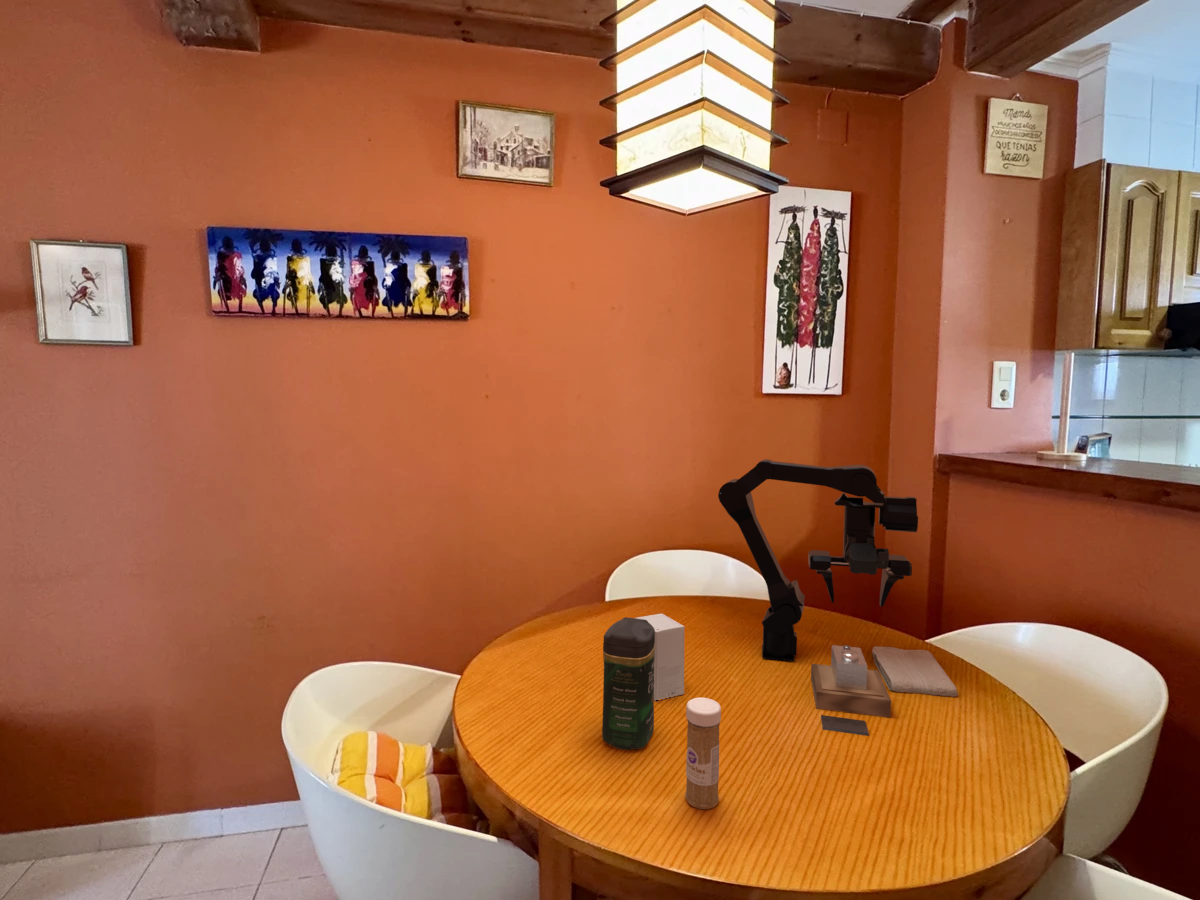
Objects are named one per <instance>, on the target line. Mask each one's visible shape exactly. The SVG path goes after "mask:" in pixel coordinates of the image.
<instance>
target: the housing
mask: <svg viewBox="0 0 1200 900" xmlns="http://www.w3.org/2000/svg"><path fill="white" fill-rule="evenodd" d="M830 655H831V659H830V660H831V661H830V662H831V663H830V666H831V670H832V673H833V677H834V681H835V685H836V687H840V688H849V689H858V690H866V686H867V669H868V665H867V664H868V663H867V662H866V659H865V657H864V654H863V651H862V649H861V647H857V646H856V647H855V646H850V645H847V644H844V645H836V644H832V645H831V654H830Z"/></svg>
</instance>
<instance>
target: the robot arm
mask: <svg viewBox="0 0 1200 900" xmlns="http://www.w3.org/2000/svg"><path fill="white" fill-rule="evenodd" d="M767 480H771V481H772V480H773V481H781V482H782V481H783V482H790V483H797V484H805V485H806V484H807V485H812V486H813V485H814V486H815V485H816V486H821V487H827V488H831V489H834V490H836V491H839V492H842V493H841V495H840V496H839V497H838V498H836V499H835V500H834V505H835V506H839V507H841V506H842V507H844V511H843V514H844V516H843V542H842V543H843V544H842V545H843V547H842V548H843V550H842V556H840V555H839V556H838V555H831V553H830V552H829V551H828V550H817V549H816V550H815V549H814V550H813V549H811V550H810V551H809V552H808V553H807V555H808V556H807V557H808V558H807V563H808V567H809V569H810V570H814V571H816V574H818V575H822V577H823V579H824V582H825V586H826V588H827V592H828V595H829V598H830V601H831V603H832V604H834V603H835V592H834V591H835V590H834V582H833V581H834V580H833V571H832V569H831V566H833V567H834V566H836V567H849V572H851V573H852V574H855V575H856V574H857V575H858V574H868V575H870V576H871V575H873V576H875V575H876V574H877V573H878V569H881V570H882V572H881V579H880V580H881V582H880V590H879V606H880V607H881V608H883V607H884V605H885V604H886V601H887V599H888V596H889V594H890V592H891V589H892V588H893V586H894V585H895V583H896V582H898V580H904V579H905V577H911V576H912V575H913V574H912V571H913V565H912V562H911V561H910V560H909V559H908V558H907V557H906V556H905V555H901V554H890V551H889V549H888V548H881V547H878V548H876V543H875V542H876V541H875V540H876V539H875V537H876V536H875V535H876V534H875V533H876V530H875V529H876V508H877V509H878V525H879V526H880V525H881V526H882V527H883V528H884V531H892V532H907V533H917V532H918V526H919V515H918V508H917V507H918V506H917V504H918V503H917V497H916V496H905V497H904V496H903V497H902V496H901V497H900V496H886V494H885V493H884V490H881V488H880V487H879V486H878V482H877V476H876V474H875V471H873V469H872V468H871V467H869V466H868V465H864V464H851V465H848V464H847V465H837V466H822V465H813V464H805V463H804V464H803V463H794V462H793V463H792V462H787V461H786V462H785V461H777V460H772V459H768V458H766V459H763V460H760V461H758V463H757V464H756V465H755V466H754V467H752V469H750V470H749V471H748V472H746V473H745V474H744V475H742V476H741V477H740V478H734V479H730V480H729V481H727V482H725V483H724V484H722V486H721V487H720V488H719V491H718V494H717V495H718V496H717V497H718V500H719V503H720V504H721V506H722V507H723V509H724V510H725V512H727V514H728V515H729V516H730V518H731V519H732V520H733V521H734V522H735V523H736V524H737V525H738V528H739V530H740V532H741V534H742V535H743V538H744V540H745V541H746V544H747V546H748V548H749V550H750V553H751V555H752V557H753V558H754V559H753V560H754V561H755V564H756V565H757V568H758V569H759V571H760V573H761V576H762V577H763V579H764V583H765V585H766V588H767V594H768V600H769V604H770V606H769V607H768V608H767V609H766V611H765V614H764V616H763V619H762V620H761V625H762V645H761V658H762V659H766V660H775V661H783V662H784V661H785V662H786V661H787V662H794V661H795V656H797V649H798V647H797V644H798V636H797V632H795V627H794V625H796V624H798V623H799V622H800V620H801V618H802V615H803V612H804V608H805V597H806V595H805V594H804V593H803V592H802V590H801V589H800V585H799V582H798V580H797V579H795V580H793V581H790V580H789V579H788V577H786V575H785V574H784V571H783V570H782V567H781V565H780V563H779V560H778V559H777V557H776V555H775V553H774V550H773V549H772V546H771V545H770V544H771V543H770V542H769V540H768V538H767V536H766V534H765V532H764V530H763V528H762V526H761V524H760V521H759V519H758V517H757V515H756V509H755V505H754V504H755V503H754V499H753V495H752V492H753V491H754V490H755V489H756V488H757V487H759V486H760V485H762V484H763V483H764V482H766V481H767ZM847 494H849V495H852V496H848V495H847ZM864 497H865V498H866V499H868V500H870V502H868V501H864Z"/></svg>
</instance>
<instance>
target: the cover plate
mask: <svg viewBox="0 0 1200 900" xmlns="http://www.w3.org/2000/svg"><path fill="white" fill-rule="evenodd" d="M820 720H821V721H820V722H821V727H822V730H824V731H832V732H836V733H837V732H839V733H846V734H854V735H860V736H865V737H866V736H868V737H869V736H870V731H869V729H868V725H867V721H866V720H862V719H855V718H854V719H853V718H848V717H838V716H832V715H825V714H820Z"/></svg>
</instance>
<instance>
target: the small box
mask: <svg viewBox="0 0 1200 900" xmlns="http://www.w3.org/2000/svg"><path fill="white" fill-rule="evenodd" d="M635 618H636V619H644V620H647V621H648V622H649V623H650V624H651V625H652V626H653V627H654V629H655V658H654V660H655V661H654V702H657V701H656V700H659V701H661V700H660V699H663V700H665V699H664V698H667V699H670V698H669V697H671V698H674V696H675V697H677V696H678V695H679V696H682V695H684V694H685V625H682V624H681V623H679V622H677V621H675V620H674V619H672V618H671V617H669V616H667V615H665V614H664V613H657V614H656V613H655V614H651V615H650V614H649V615H644V616H638V617H637V616H636V617H635Z"/></svg>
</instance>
